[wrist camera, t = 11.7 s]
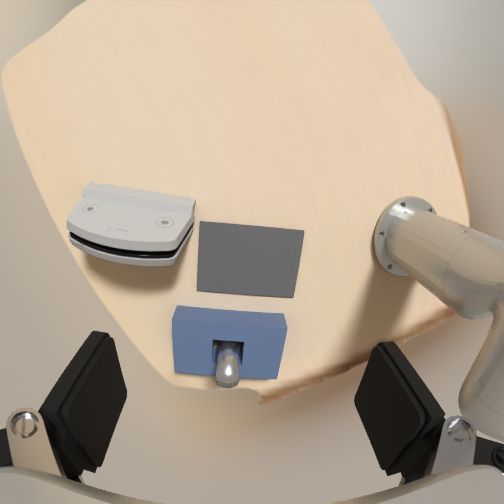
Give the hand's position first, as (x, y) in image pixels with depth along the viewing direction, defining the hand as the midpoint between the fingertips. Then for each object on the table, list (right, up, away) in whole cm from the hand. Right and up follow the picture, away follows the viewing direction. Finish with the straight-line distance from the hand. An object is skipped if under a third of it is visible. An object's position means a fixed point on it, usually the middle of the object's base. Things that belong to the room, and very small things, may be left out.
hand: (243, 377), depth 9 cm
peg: (-3, -9, +34) cm, 36 cm away
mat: (0, +3, +30) cm, 31 cm away
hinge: (-16, +9, +28) cm, 33 cm away
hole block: (-3, -9, +34) cm, 36 cm away
